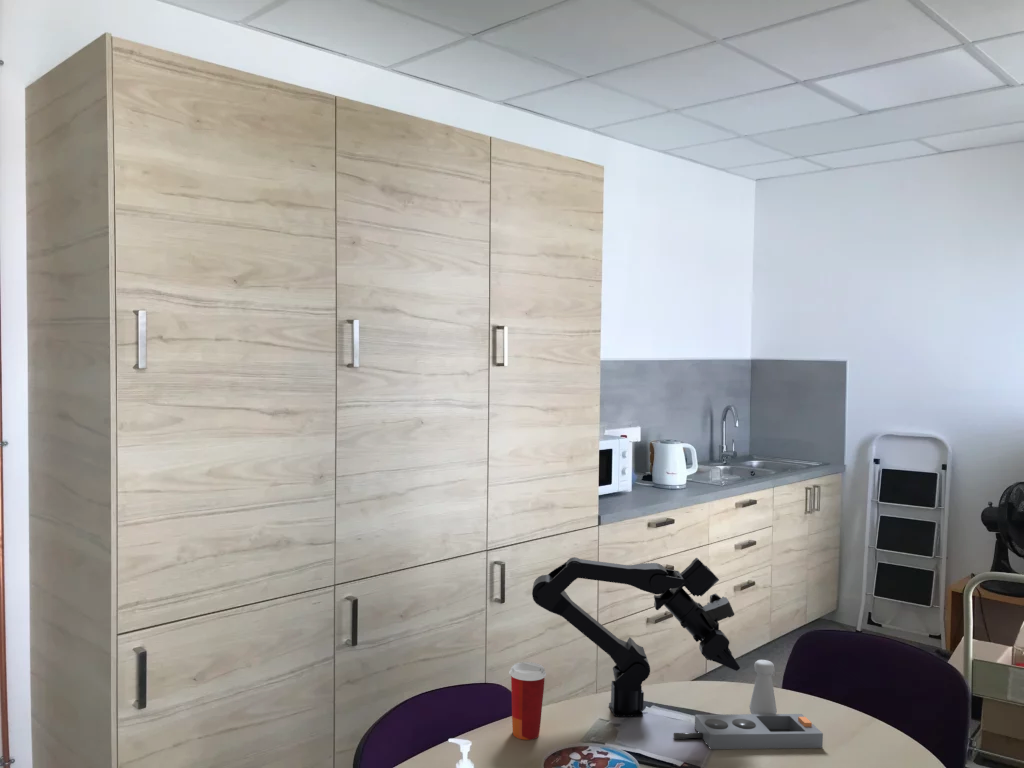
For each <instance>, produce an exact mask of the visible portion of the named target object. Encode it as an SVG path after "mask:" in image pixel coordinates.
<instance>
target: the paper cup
mask: <svg viewBox="0 0 1024 768" xmlns="http://www.w3.org/2000/svg"><path fill="white" fill-rule="evenodd" d="M508 674H509V676H510V680H511V681H510V683H511V684H510V685H511V688H510V690H511V720H512V721H511V724H512V726H511V727H512V734H513V736H514V738H516V739H519V740H523V741H531V740H532V741H533V740H535V739H537V738H539V736H540V731H541V724H542V723H541V720H542V711H543V700H544V692H545V680H546V679H545V678H546V677H547V672H546V670H545V667H544V666H543V665H542V664H540V663H537V662H532V661H523V662H521V661H520V662H517V663H516V662H515V663H514V664H513V665H512V666H511V668H510V670H509V672H508Z"/></svg>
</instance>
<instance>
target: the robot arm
mask: <svg viewBox="0 0 1024 768" xmlns="http://www.w3.org/2000/svg"><path fill="white" fill-rule="evenodd" d="M577 579H585V580H590V581H599V582H604V583H605V582H608V583H615V584H621V585H622V584H623V585H628V586H632V587H634V588H637V589H638V590H641V591H644V592H647V593H651V594H653V599H654V601H653V602H654V603H653V606H654V608H655V610H656V611H659V610H660V609H661V608H663V606H664V607H665V608H666V609H667V610H668V611H669V612H670V614H672V616H674V618H675V619H676V620H677V621H678V622H679V623H680V626H681V627H682V628H683V629H685V630H687V632H688V633H689V634H690V635H691V637H692V638H693V640H694V641H695V642H696V643H698V642H699V641H700V642H699V645H698V646H699V651H700V653H701V655H702V656H703V657H704V658H705V659H706V660H707V661H711V662H714V663H717V664H719V665H722V666H724V667H726V668H728V669H730V670H733V671H736V672H737V671H739V670H740V669H741V666H740V665H739V663H738V662H737V660H736V659H735V658H734V655H733V653H732V651H731V649H730V648H729V647H730V640H729V638H728V636H726V634H725V633H724V632H723V631H722V630H721V629H720V623H719V622H720V621H723V620H725V619H726V618H729V619H730V618H732V617H734V616H735V612H734V610H733V607H732V605H731V603H730V601H729V599H728V598H727V597H725V596H722V597H721V596H720V595H718V594H717V593H712V594H711V595H709V602H707V603H706V604H705V605H703V604H701V603H700V602H697V601H695V600H694V599H693V597H699V596H700V597H703V596H704V595H705V594H706V593H707V592H708V591H709V590H710V589H711V588H712V587H714V586H715V585H716V584H717V583H718V582H719V581H720V579H719V578H718V577H717V576H716V574H715V573H714V572H713V571H712V570H711V569H710V568H709V567H708V566H707V565H705V564H704V563H703V562H702V561H701V560H700V559H699V558H698V557H695V558H694V559H693V560H692V561H691V563H689V565H688V566H686V568H684V569H683V570H682V572H680V571H679V570H673V569H668V568H665V567H664V566H663V565H661V564H660V563H658V562H650V563H649V562H647V563H637V564H620V563H612V562H605V561H598V560H589V559H582V558H578V557H570V558H569V559H567V560H566V561H565V562H564V563H563V564H561V565H560V566H558V567H556V568H554V569H553V570H551V572H548V574H542V575H540V576H537V577H536V579H535V580H534V582H533V585H532V593H531V594H532V600H533V601H534V604H536V605H537V606H539V607H541V608H543V609H545V610H546V611H548V612H550V613H552V614H555V615H558V616H560V617H562V618H563V619H565V620H566V621H567V622H568V623H569V624H570V625H572V626H573V627H574V628H576V629H577V630H578V631H579V632H580V633H581V634H583V636H585V637H587V638H588V639H589V640H590V641H591V642H593V643H594V644H595V645H596V646H597V647H598V648H600V649H601V650H602V651H603V652H605V653H606V654H607V655H608V656H609V657H610V658H611V659H612V661H613V662H614V663H615V665H614V666H613V667H612V672H613V678H614V680H611V689H610V691H611V692H610V693H611V694H610V702H609V703H608V707H609V709H610V711H611V712H612V714H613V716H614V717H643V716H644V713H643V710H644V701H645V700H644V698H645V694H644V691H643V689H642V683H643V682H645V681H646V680H647V679H648V678H649V677H650V673H651V666H650V663H649V659H648V657H647V655H646V653H645V648H644V647H643V646H641V645H639V644H638V643H636V642H635V640H633V638H632V637H629V638H628V639H627V641H624V640H622V639H621V638H618V637H617V636H616V635H614V634H613V633H612V632H611V631H610V630H608V629H607V628H606V627H605V626H604V625H602V624H601V623H600V622H599V621H598V620H596V619H595V618H594V617H593V616H591V615H590V613H588V612H586V611H585V610H584V609H583V608H582V607H580V605H578V604H577V603H575V602H574V601H573V600H572V598H570V596H569V595H568V593H567V592H566V591H565V590H566V589H568V587H569V586H570V585H571V584H572V583H574V581H576V580H577ZM684 588H685V589H686V590H687V591H688V592H689V593H690V594H691V595H692V596H693V597H692V596H691V595H690V594H689V593H687V591H686V590H685V589H684Z"/></svg>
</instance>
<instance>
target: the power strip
mask: <svg viewBox="0 0 1024 768" xmlns="http://www.w3.org/2000/svg"><path fill="white" fill-rule="evenodd" d="M694 729H696V730H697V731H698V732H699V733H698V732H697V731H696V730H695V731H696V732H673V733H672V735H673V736H672V737H673V739H674V738H675V739H674V740H686V739H685V738H703V739H704V741H705V742H706V743H707V745H708V746H709V747H710V748H711V749H710V750H749V749H750V750H752V749H753V750H755V749H760V750H761V749H763V750H764V749H765V750H766V749H822V748H823V741H824V740H823V739H824V738H823V736H824V733H823V732H822V731H821V730H820V729H819V728H817V727H816V726H815V725H814V723H813V722H812V721H811V720H809V719H808V718H807V717H806V716H805V715H804V714H802V713H776V714H751V713H747V714H744V713H743V714H742V713H740V714H737V713H735V714H734V713H733V714H731V713H730V714H725V713H724V714H694ZM683 738H684V739H683ZM703 739H702V740H703ZM704 741H703V742H704ZM705 742H704V743H705ZM706 743H705V744H706ZM707 745H706V746H707ZM708 746H707V747H708ZM709 747H708V748H709Z"/></svg>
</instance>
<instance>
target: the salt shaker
mask: <svg viewBox="0 0 1024 768" xmlns="http://www.w3.org/2000/svg"><path fill="white" fill-rule="evenodd" d="M753 666H754V672H756V677H755V680H754V684H753V690H752V693H751V698H750V702H749V711H750V714H778V713H777V711H778V709H777V703H776V697H775V696H776V695H775V690H774V689H775V688H774V683H773V674H774V673H775V665H774V663H773V662H772V661H770V660H768V659H758V660H756V661H755V662H754V665H753Z"/></svg>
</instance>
